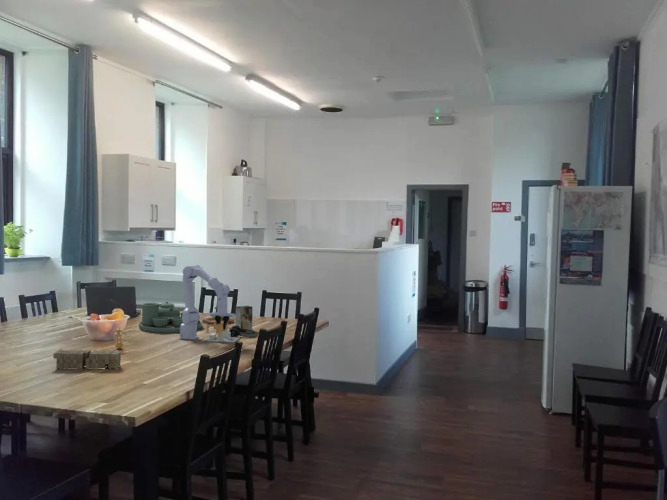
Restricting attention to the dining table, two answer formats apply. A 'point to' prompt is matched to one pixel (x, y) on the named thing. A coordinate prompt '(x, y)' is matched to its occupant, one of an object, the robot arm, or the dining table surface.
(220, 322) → the robot arm
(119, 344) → the figurine
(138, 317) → the dining table surface
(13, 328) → the dining table surface
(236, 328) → the headset
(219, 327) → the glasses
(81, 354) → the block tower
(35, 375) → the dining table surface
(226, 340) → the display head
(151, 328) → the tea set
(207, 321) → the plant
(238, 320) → the coffee box
